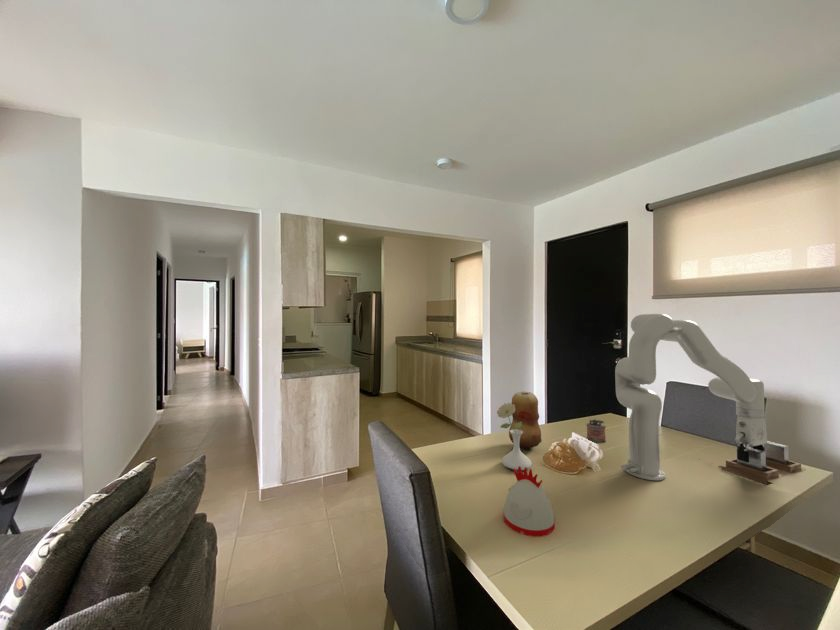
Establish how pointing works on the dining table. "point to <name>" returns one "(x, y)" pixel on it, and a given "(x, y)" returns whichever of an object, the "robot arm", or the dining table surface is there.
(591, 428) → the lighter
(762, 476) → the brown flat slotted piece
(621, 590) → the dining table surface
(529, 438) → the butternut squash
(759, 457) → the billet
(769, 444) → the block
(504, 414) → the flower in vase
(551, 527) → the kitchen timer
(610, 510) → the dining table surface
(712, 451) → the dining table surface
